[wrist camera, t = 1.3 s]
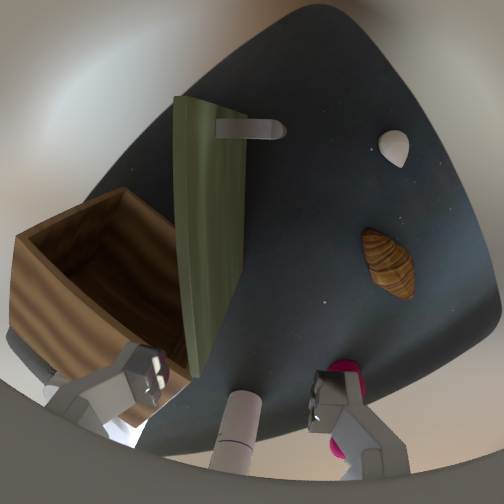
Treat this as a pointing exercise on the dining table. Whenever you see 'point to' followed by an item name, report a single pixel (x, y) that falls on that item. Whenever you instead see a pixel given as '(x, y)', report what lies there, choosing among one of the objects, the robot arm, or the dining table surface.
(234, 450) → the cylindrical container
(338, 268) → the dining table surface
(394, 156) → the clam shell
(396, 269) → the croissant
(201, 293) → the cupboard door
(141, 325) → the cupboard
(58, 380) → the plate stack
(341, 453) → the pepper mill
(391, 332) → the dining table surface
